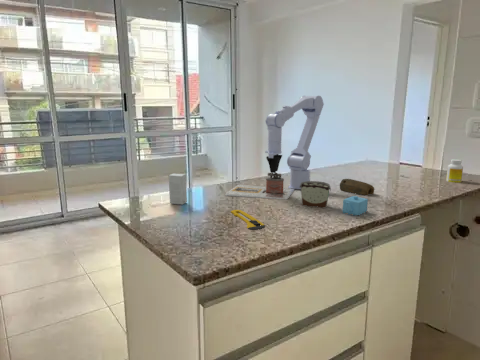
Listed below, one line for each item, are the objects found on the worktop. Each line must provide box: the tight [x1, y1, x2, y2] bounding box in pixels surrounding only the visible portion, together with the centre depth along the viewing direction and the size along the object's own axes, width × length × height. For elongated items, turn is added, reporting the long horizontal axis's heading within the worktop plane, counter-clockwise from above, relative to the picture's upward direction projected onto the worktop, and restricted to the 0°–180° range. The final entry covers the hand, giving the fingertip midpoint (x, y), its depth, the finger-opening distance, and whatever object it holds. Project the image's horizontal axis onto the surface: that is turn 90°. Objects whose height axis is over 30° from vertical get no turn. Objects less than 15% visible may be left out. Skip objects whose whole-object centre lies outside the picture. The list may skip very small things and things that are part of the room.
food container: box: [299, 180, 332, 208], centre depth 146 cm, size 12×6×10 cm, turn 65°
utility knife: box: [230, 209, 266, 231], centre depth 130 cm, size 7×22×2 cm, turn 25°
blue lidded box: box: [342, 195, 369, 216], centre depth 135 cm, size 12×6×8 cm, turn 136°
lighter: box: [265, 172, 285, 195], centre depth 165 cm, size 8×3×10 cm, turn 78°
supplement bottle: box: [445, 158, 464, 183], centre depth 183 cm, size 7×7×13 cm
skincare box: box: [168, 173, 188, 206], centre depth 151 cm, size 6×4×12 cm
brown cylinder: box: [339, 178, 375, 196], centre depth 165 cm, size 15×7×7 cm, turn 43°
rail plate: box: [224, 184, 296, 200], centre depth 168 cm, size 28×18×1 cm, turn 72°
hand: (274, 171), depth 164 cm, fingers open, 3 cm apart
